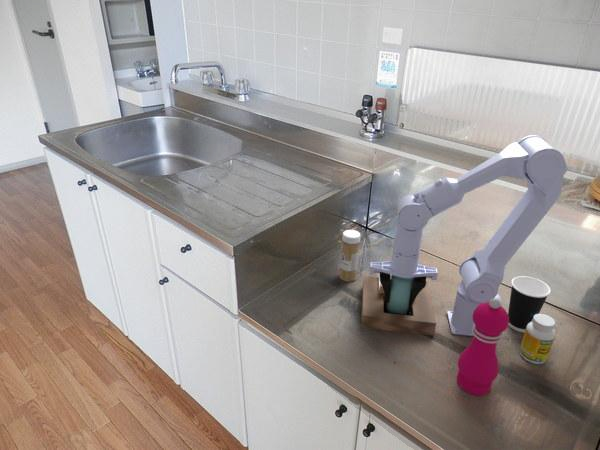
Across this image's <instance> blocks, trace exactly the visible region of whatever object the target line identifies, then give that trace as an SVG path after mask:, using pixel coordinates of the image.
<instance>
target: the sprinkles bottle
mask: <svg viewBox="0 0 600 450" xmlns="http://www.w3.org/2000/svg"><path fill="white" fill-rule="evenodd" d="M341 236H342V237H341V239H342V247H341V255H340V256H341V257H340V271H339V279H340V280H342V281H343V282H349V283H350V282H354V281H355V280H357V268H358V260H359V252H360V251H359V250H360V249H359V248H360V242H361V233H360V232H359V231H358V230H355V229H346V230H344V231H343V232H342V235H341Z"/></svg>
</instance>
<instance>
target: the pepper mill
mask: <svg viewBox="0 0 600 450" xmlns="http://www.w3.org/2000/svg"><path fill="white" fill-rule="evenodd" d="M473 322H474V325H473V329H472V333H473V335H474V336H472V340H471V342H470V343H469V345H468V346H467V347H466V348H465V349H464V350H463V351H462V352H461V353H460V355H459V358H458V359H457V367H458V372H457V376H456V382H457V385H459V387H460V388H461V389H462V390H463V391H464V392H466V393H468V394H471V395H473V396H474V395H475V396H485V395H487V394H488V393H489V392H490V391H491V388H492V385H493V381H495V380H496V379H497V377H498V374H499V370H500V369H499V361H498V356H497V352H496V351H497V349H496V348H497V345H498V344H497V343H499V342H500V341H501V340H502V337H503V332H505V331H506V330H507V329H508V326H509V325H508V324H509V316H508V312H507V310H506V309H505V308H504V307H501V306H500V302H499V300H497V299H491V300H490V301H489V302H487V303H482V304H480V305H479V306H477V307H476V309H475V310H474V313H473Z"/></svg>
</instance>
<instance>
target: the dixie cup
mask: <svg viewBox="0 0 600 450" xmlns="http://www.w3.org/2000/svg"><path fill="white" fill-rule="evenodd" d="M510 281H511V282H510V284H511V289H510V290H511V291H510V297H509V305H508V312H507V314H508V316H509V324H508V326H509V328H511V329H513V330H514V331H517V332H520V333H525V330H526V327H527V325H528V324H529V323H530V322H532V320H533V317H534V315H536V314H540V312H541V311H542V308H543V306H544V304H545V302H546V300H547V298H548V296H550V294H551V291H552V290H551V288H550V286H549V285H548V284H547V283H546V282H544V281H542V280H541V279H538V278H537V277H533V276H532V277H531V276H526V275H519V276H515V277H514V278H513V277H512V279H511V280H510Z"/></svg>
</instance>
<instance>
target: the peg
mask: <svg viewBox="0 0 600 450" xmlns="http://www.w3.org/2000/svg"><path fill="white" fill-rule="evenodd" d="M412 283H413V277H412V278H402V277H398V276H394V275H391V285H390V290H389V301H388V303H387V308H386V310H387V313H389V314H399V315H407V314H408V312H409V310H408V307H409V301H410V295H411V289H412Z"/></svg>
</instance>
